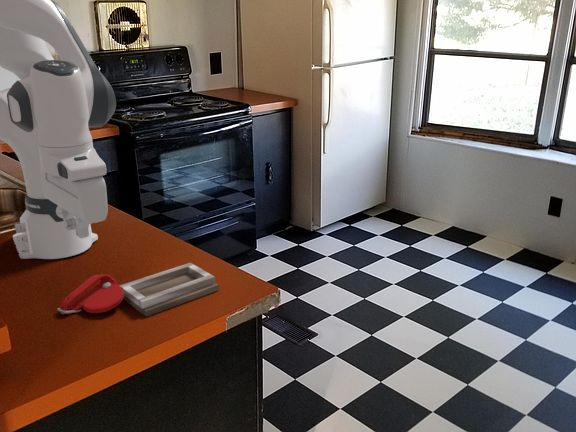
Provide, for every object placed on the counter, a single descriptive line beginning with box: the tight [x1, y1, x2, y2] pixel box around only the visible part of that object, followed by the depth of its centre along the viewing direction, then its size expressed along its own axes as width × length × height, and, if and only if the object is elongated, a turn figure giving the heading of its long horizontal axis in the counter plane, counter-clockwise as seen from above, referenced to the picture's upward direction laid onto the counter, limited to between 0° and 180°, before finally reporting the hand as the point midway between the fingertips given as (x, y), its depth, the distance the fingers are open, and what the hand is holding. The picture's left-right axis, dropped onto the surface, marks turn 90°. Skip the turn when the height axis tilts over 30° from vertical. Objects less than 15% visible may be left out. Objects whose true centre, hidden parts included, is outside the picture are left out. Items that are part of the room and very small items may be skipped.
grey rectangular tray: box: [118, 262, 220, 318], centre depth 125 cm, size 12×17×3 cm
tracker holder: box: [57, 273, 124, 316], centre depth 119 cm, size 12×4×10 cm
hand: (76, 232), depth 108 cm, fingers open, 4 cm apart
